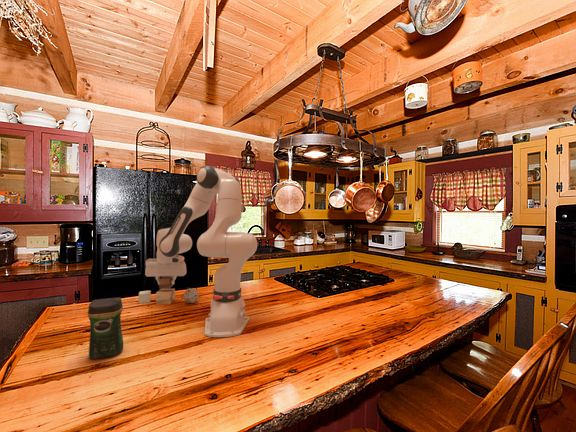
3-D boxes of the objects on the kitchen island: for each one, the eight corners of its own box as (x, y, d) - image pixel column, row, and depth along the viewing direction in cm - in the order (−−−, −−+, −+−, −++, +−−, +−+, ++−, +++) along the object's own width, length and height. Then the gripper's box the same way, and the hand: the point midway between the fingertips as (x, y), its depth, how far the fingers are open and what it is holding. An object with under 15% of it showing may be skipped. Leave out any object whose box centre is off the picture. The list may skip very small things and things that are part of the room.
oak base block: (169, 304, 139) (169, 292, 138) (156, 304, 138) (155, 292, 138) (174, 299, 146) (174, 288, 145) (161, 299, 145) (161, 288, 145)
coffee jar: (125, 345, 96) (125, 294, 96) (120, 356, 89) (119, 301, 88) (93, 350, 93) (92, 296, 93) (84, 362, 86) (84, 304, 85)
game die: (194, 309, 142) (206, 292, 144) (187, 309, 134) (200, 291, 136) (182, 299, 144) (194, 283, 146) (174, 298, 136) (187, 281, 138)
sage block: (149, 302, 140) (149, 293, 140) (138, 303, 139) (138, 294, 139) (150, 299, 145) (150, 290, 145) (140, 300, 143) (140, 291, 143)
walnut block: (169, 288, 140) (169, 278, 140) (159, 288, 139) (159, 279, 139) (172, 285, 145) (172, 276, 145) (163, 285, 144) (163, 276, 144)
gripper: (142, 259, 138) (143, 286, 138) (183, 259, 139) (183, 285, 140) (148, 257, 144) (148, 283, 144) (187, 257, 145) (187, 282, 146)
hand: (166, 284), depth 142 cm, fingers closed on walnut block, 5 cm apart
